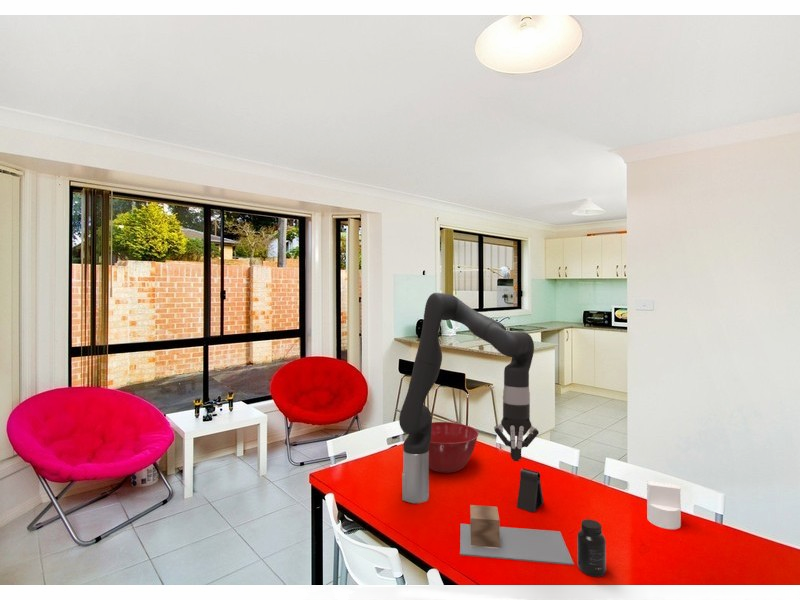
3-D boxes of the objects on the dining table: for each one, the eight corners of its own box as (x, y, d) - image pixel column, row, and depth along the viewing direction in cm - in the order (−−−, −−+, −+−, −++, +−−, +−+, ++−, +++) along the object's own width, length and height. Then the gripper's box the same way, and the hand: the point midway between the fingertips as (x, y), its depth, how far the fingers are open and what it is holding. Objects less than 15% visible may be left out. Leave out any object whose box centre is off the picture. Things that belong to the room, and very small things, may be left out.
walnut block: (470, 546, 119) (470, 518, 120) (470, 531, 127) (470, 504, 127) (499, 548, 118) (499, 520, 118) (497, 533, 126) (497, 506, 126)
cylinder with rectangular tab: (675, 518, 136) (675, 481, 136) (684, 532, 127) (684, 493, 127) (644, 513, 139) (644, 477, 139) (651, 527, 130) (650, 488, 130)
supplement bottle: (572, 561, 113) (572, 517, 113) (596, 560, 113) (596, 516, 114) (586, 578, 106) (585, 531, 106) (611, 577, 107) (611, 529, 107)
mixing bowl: (484, 481, 164) (484, 442, 164) (411, 481, 164) (411, 441, 165) (472, 455, 192) (472, 421, 192) (410, 455, 193) (410, 421, 193)
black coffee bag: (533, 513, 139) (533, 477, 139) (516, 507, 143) (516, 472, 143) (543, 503, 146) (543, 469, 146) (527, 498, 150) (527, 464, 150)
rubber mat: (460, 555, 116) (460, 553, 116) (460, 524, 132) (460, 523, 132) (573, 565, 111) (573, 563, 111) (560, 532, 127) (560, 531, 127)
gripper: (493, 402, 119) (493, 463, 119) (542, 404, 117) (541, 467, 117) (492, 397, 126) (491, 454, 126) (537, 398, 124) (537, 457, 124)
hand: (515, 460), depth 122 cm, fingers closed
